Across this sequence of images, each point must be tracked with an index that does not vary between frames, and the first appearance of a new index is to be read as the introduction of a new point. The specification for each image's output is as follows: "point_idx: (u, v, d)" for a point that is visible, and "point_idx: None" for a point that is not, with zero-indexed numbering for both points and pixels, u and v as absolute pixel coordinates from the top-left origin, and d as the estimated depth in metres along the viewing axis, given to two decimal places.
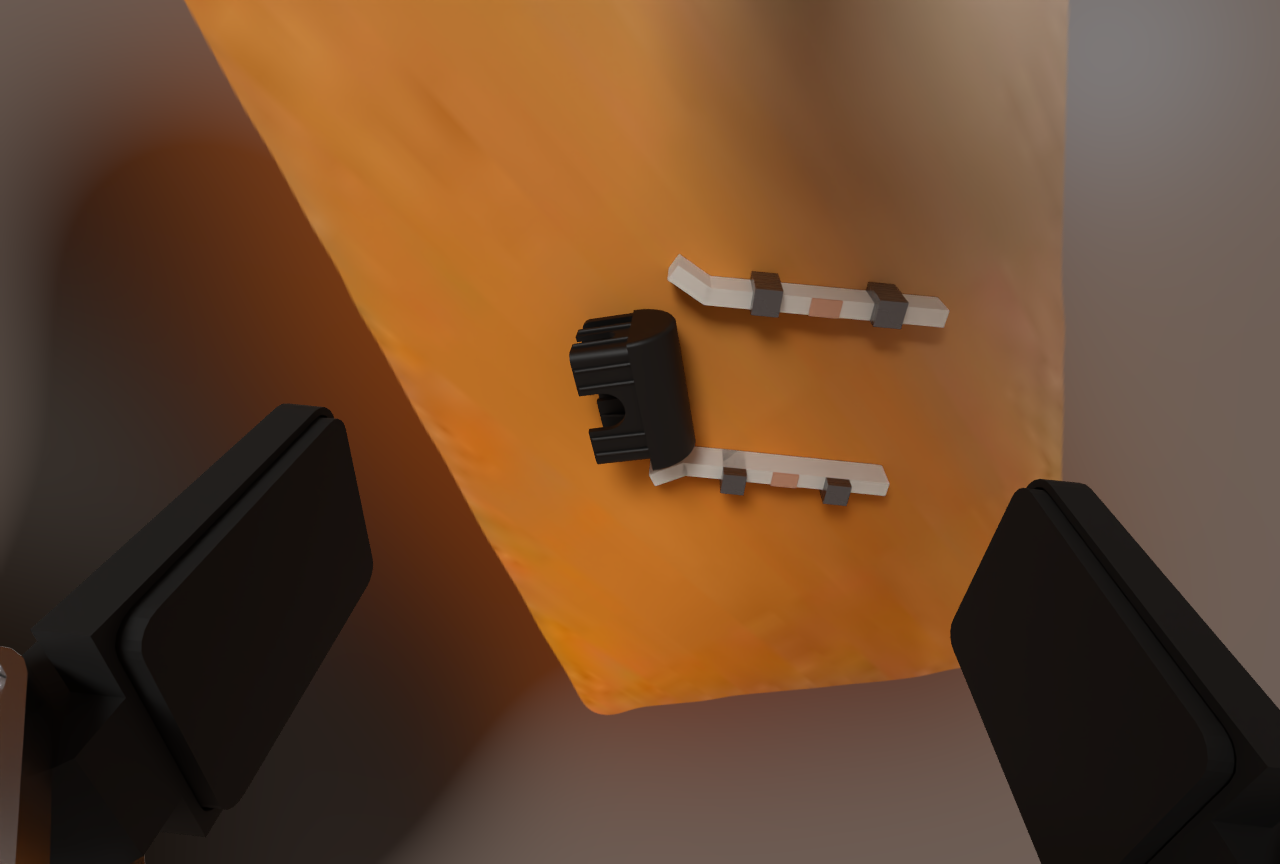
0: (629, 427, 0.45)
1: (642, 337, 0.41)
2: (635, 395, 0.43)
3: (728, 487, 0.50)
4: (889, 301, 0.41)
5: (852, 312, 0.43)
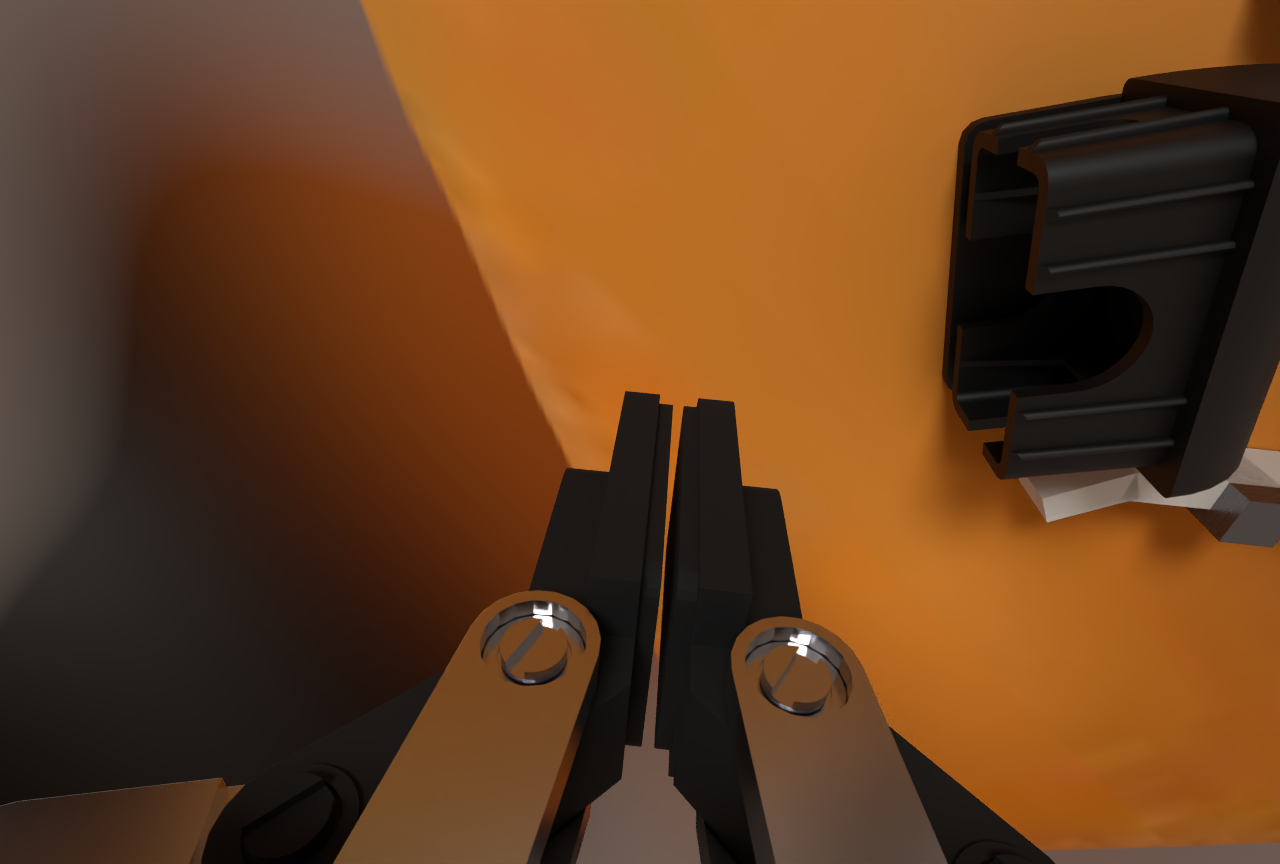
0: (1140, 385, 0.17)
1: None
2: (1206, 290, 0.15)
3: (1245, 530, 0.22)
4: None
5: None
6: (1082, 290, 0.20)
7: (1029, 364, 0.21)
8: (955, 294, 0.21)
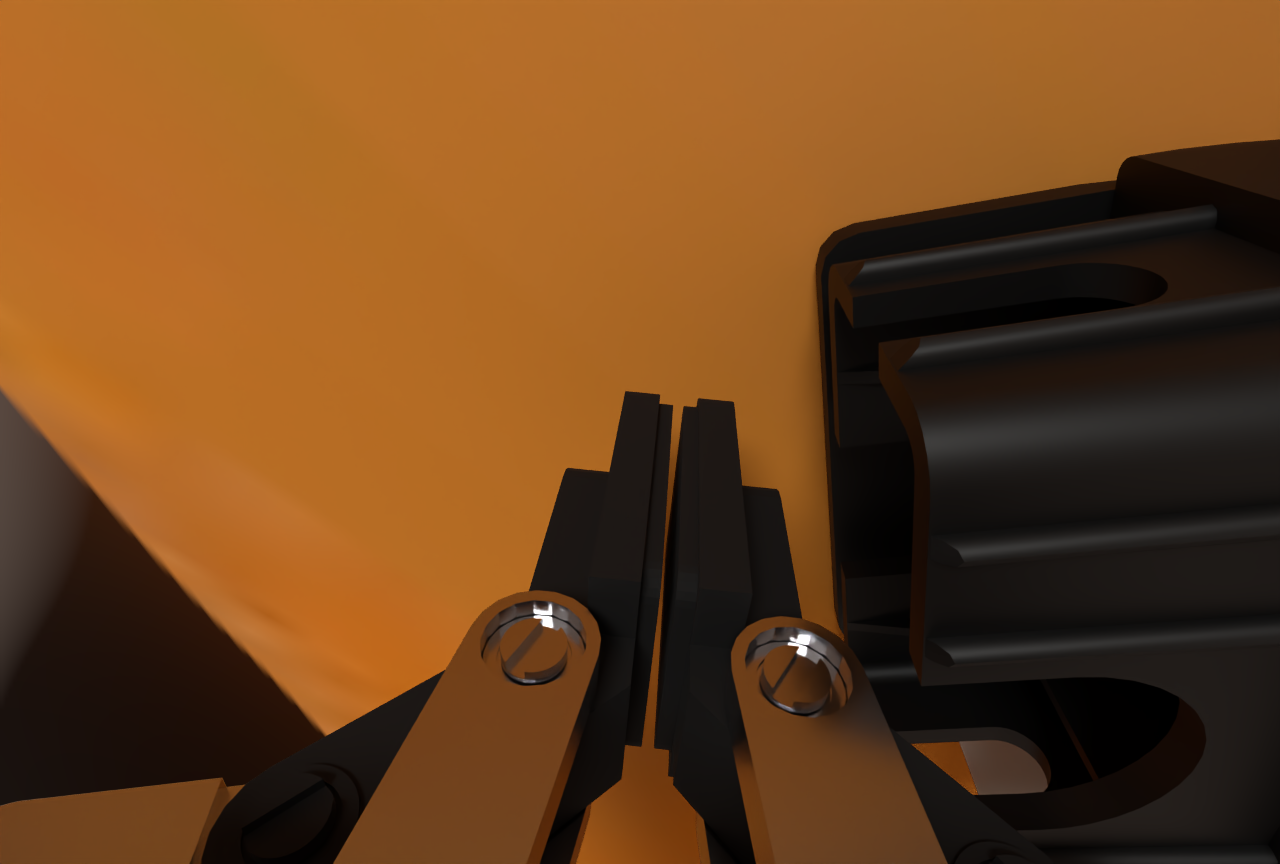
0: (1174, 828, 0.08)
1: None
2: None
3: None
4: None
5: None
6: None
7: None
8: (836, 508, 0.12)
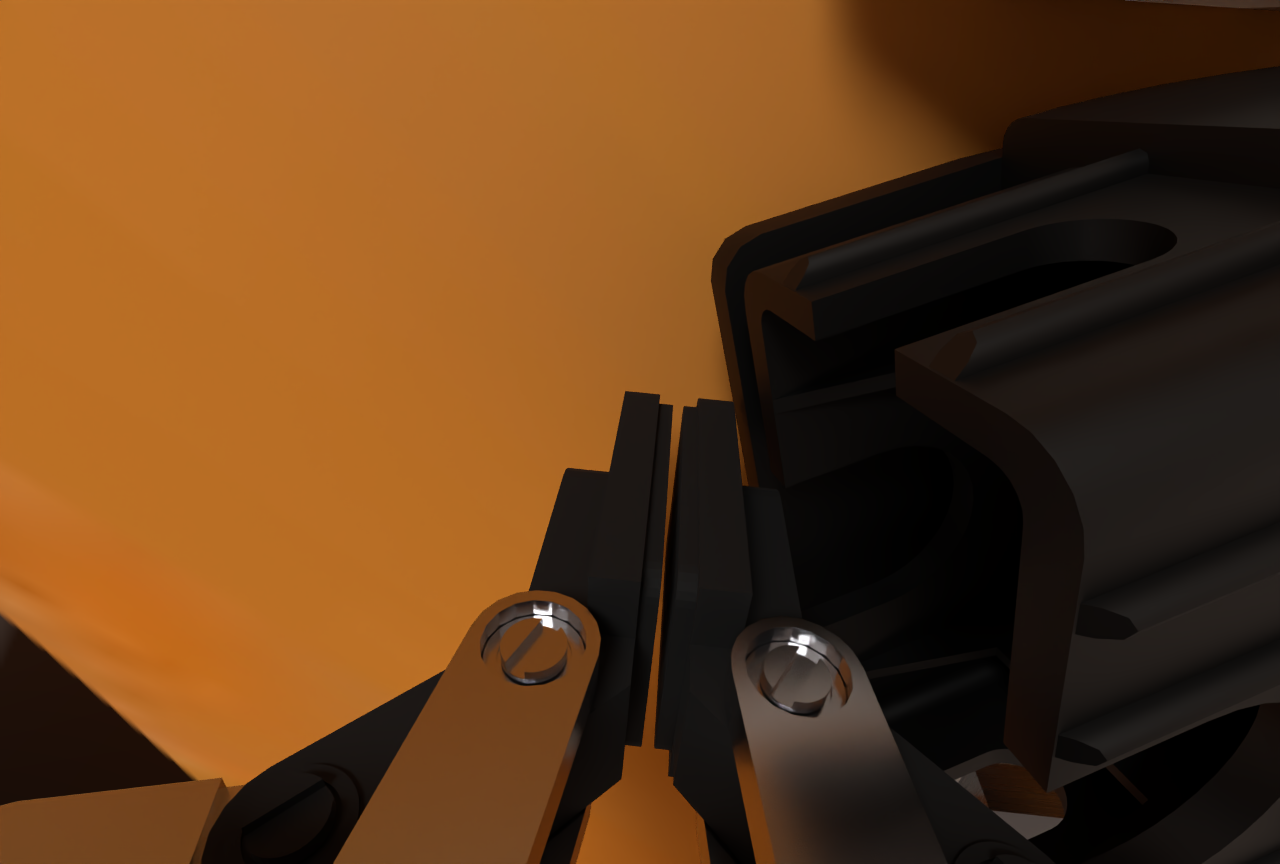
0: (1270, 838, 0.07)
1: None
2: None
3: None
4: None
5: None
6: (1000, 520, 0.10)
7: (938, 664, 0.11)
8: None
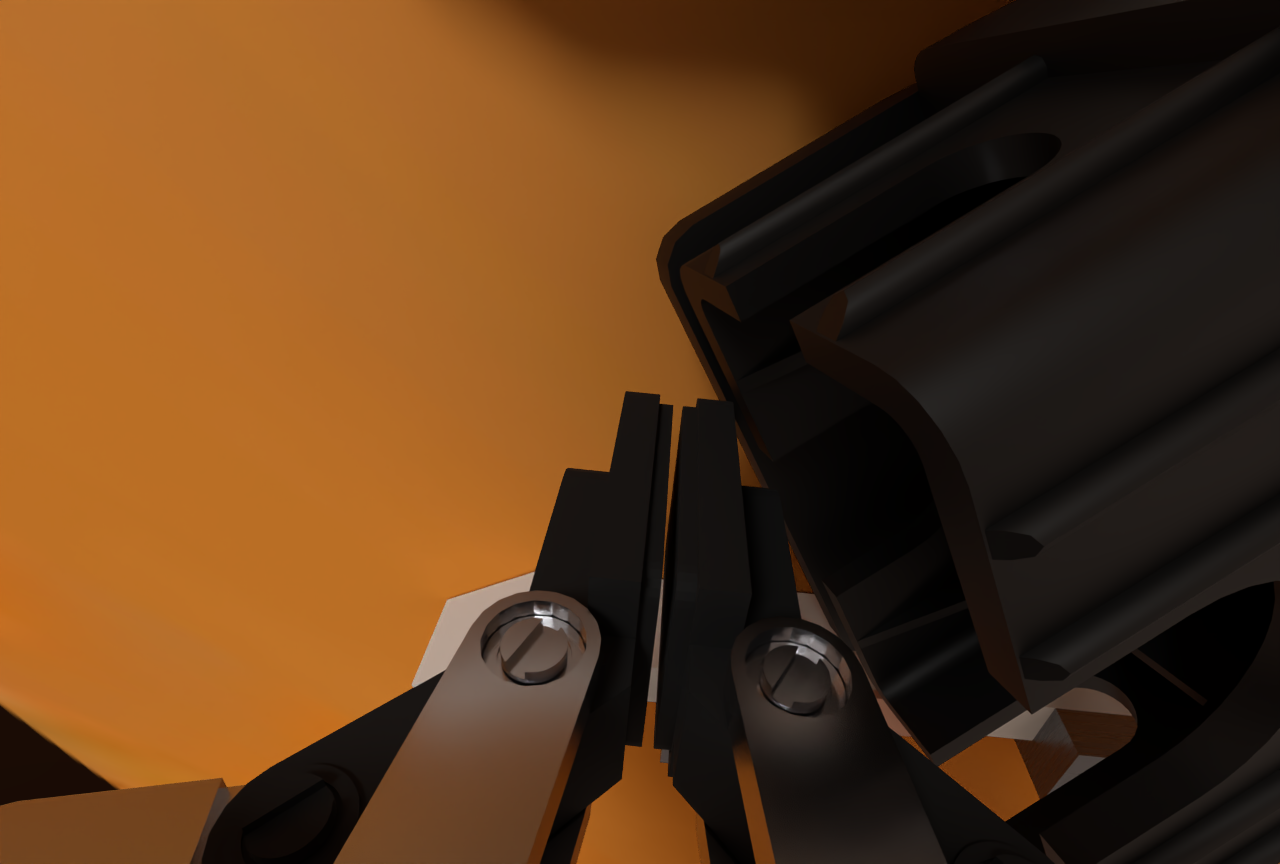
0: None
1: None
2: None
3: None
4: None
5: None
6: None
7: None
8: (791, 524, 0.11)
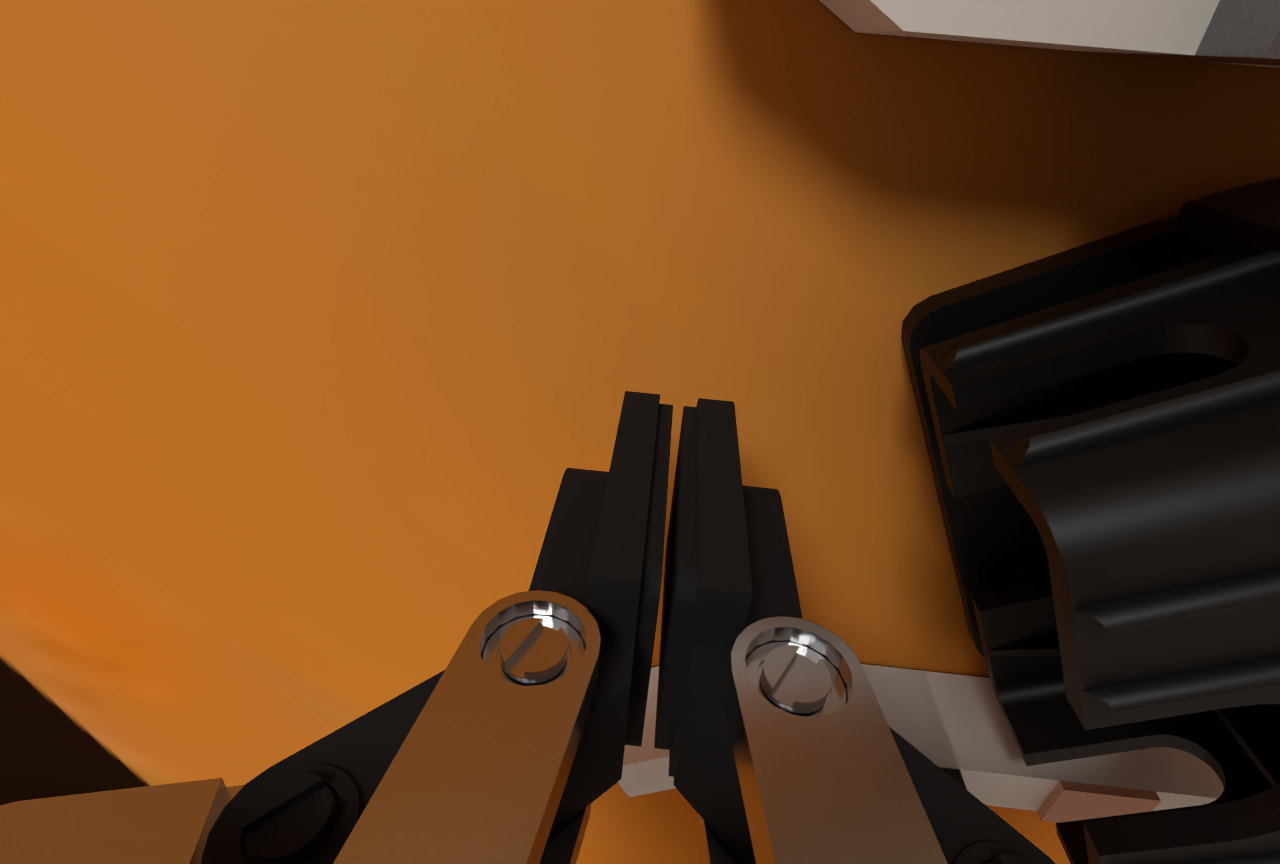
0: None
1: None
2: None
3: None
4: None
5: None
6: None
7: None
8: (957, 544, 0.13)
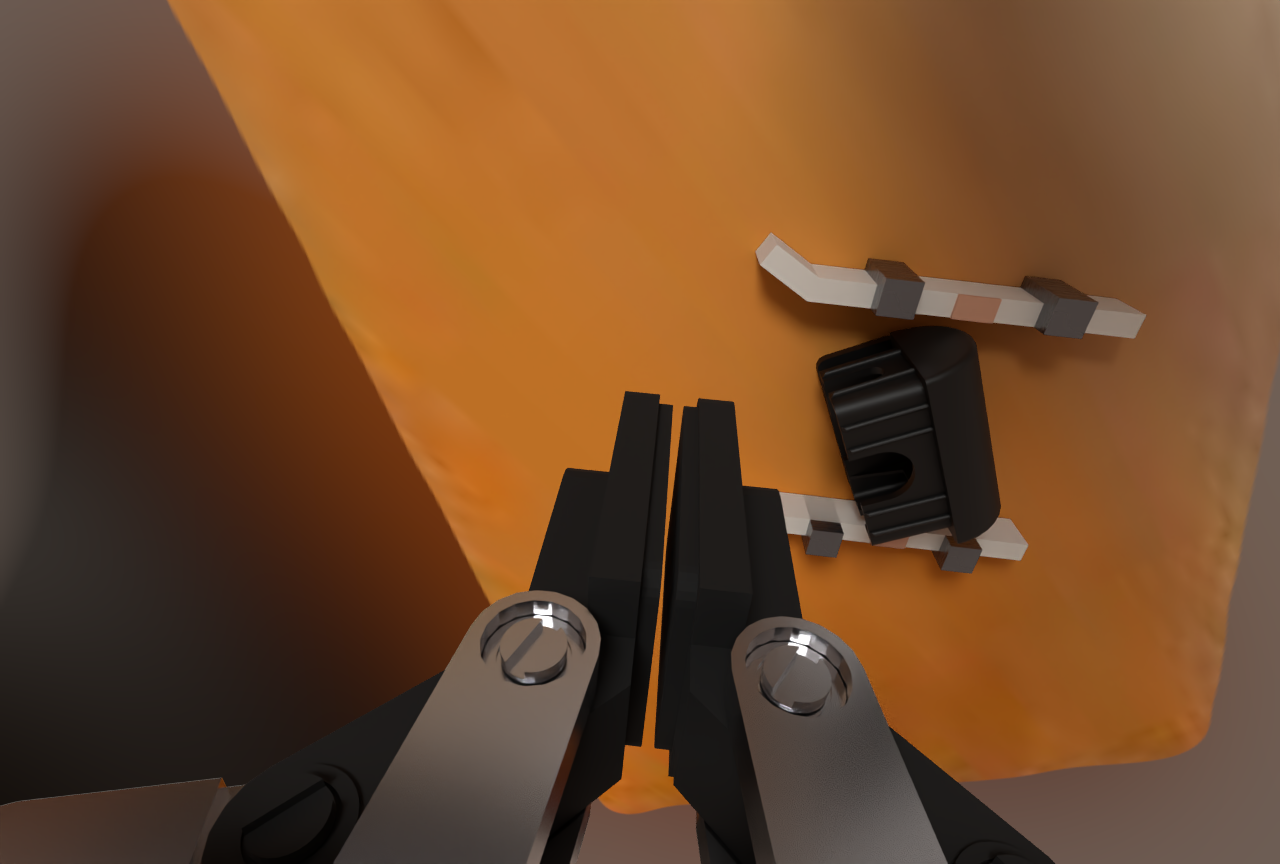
0: (920, 491, 0.32)
1: (943, 366, 0.29)
2: (931, 447, 0.31)
3: (817, 547, 0.38)
4: (1071, 299, 0.30)
5: (1011, 315, 0.31)
6: None
7: (886, 474, 0.37)
8: (838, 439, 0.37)
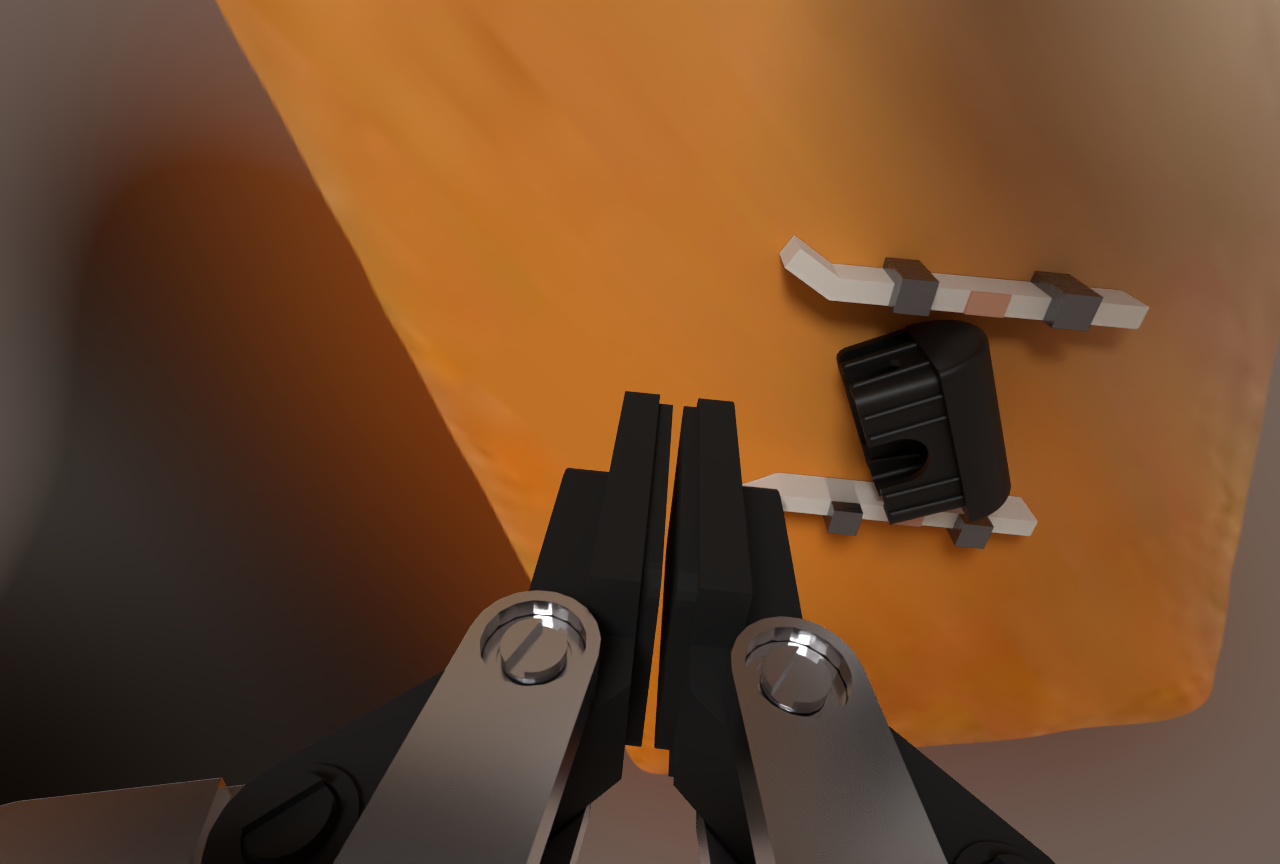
0: (935, 474, 0.35)
1: (956, 359, 0.32)
2: (945, 434, 0.34)
3: (838, 526, 0.40)
4: (1077, 295, 0.32)
5: (1021, 309, 0.33)
6: None
7: (903, 457, 0.39)
8: (857, 426, 0.40)
